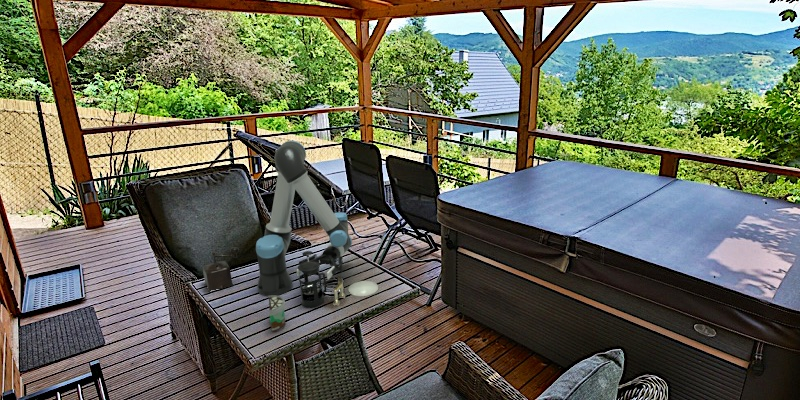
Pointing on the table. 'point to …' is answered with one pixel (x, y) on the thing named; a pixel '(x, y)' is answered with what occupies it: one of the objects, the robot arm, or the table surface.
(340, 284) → the ceiling spotlight
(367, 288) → the coaster
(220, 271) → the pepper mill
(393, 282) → the table surface
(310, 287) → the french press
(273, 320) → the food container
